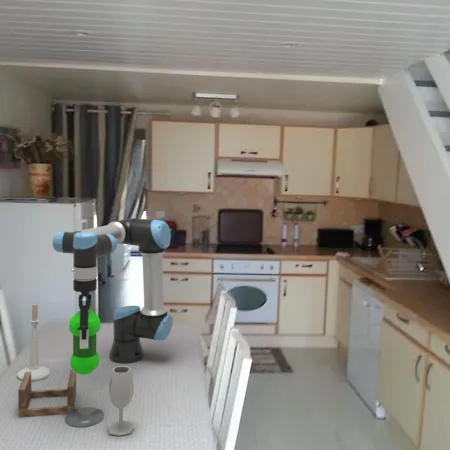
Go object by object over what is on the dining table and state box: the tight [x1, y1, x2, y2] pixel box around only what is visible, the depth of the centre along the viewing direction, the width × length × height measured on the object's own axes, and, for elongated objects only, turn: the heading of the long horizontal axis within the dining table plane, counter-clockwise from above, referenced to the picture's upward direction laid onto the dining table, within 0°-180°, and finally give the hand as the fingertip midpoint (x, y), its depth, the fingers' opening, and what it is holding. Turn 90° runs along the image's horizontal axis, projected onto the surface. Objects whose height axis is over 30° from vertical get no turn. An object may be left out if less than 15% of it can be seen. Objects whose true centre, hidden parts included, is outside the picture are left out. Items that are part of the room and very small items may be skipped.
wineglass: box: [106, 365, 135, 437], centre depth 164 cm, size 9×9×21 cm
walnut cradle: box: [17, 368, 77, 419], centre depth 179 cm, size 18×15×10 cm
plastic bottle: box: [68, 301, 101, 376], centre depth 169 cm, size 10×10×25 cm
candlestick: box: [16, 303, 51, 382], centre depth 203 cm, size 13×13×30 cm
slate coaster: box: [64, 406, 105, 428], centre depth 172 cm, size 13×13×1 cm
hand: (84, 342), depth 169 cm, fingers closed on plastic bottle, 10 cm apart
